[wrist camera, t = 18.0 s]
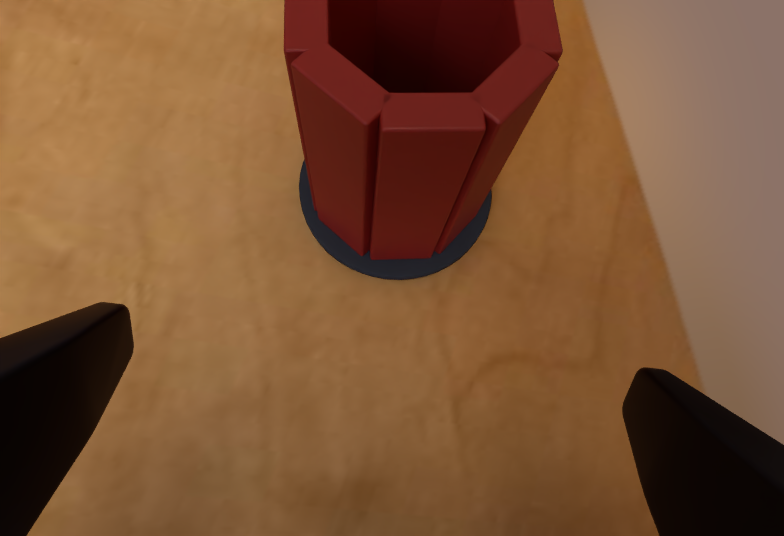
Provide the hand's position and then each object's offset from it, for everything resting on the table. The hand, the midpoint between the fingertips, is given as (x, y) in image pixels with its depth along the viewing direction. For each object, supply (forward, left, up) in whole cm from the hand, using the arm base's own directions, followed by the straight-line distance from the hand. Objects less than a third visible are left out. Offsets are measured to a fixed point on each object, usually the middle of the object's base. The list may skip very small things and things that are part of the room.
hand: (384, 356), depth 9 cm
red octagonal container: (+7, +4, -9) cm, 12 cm away
